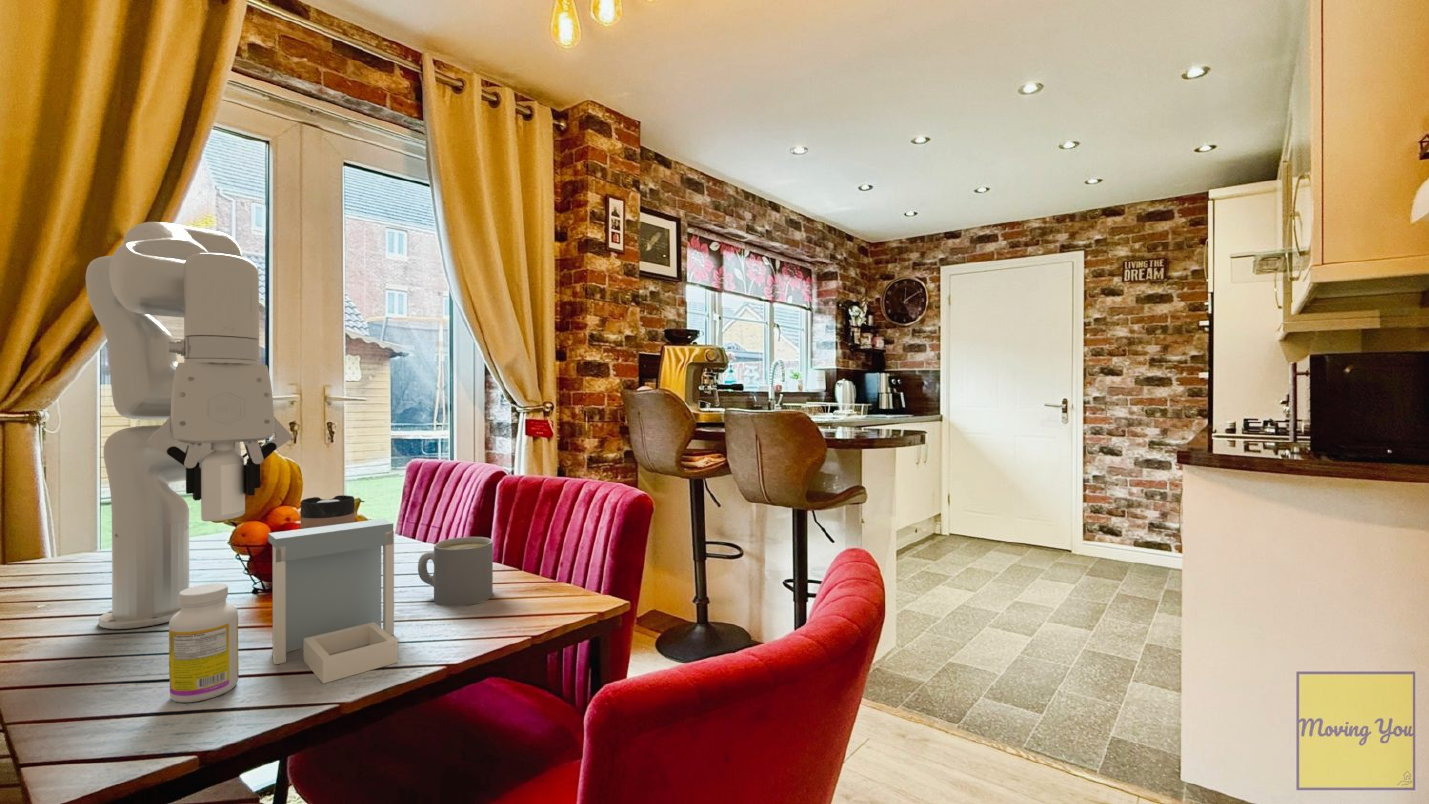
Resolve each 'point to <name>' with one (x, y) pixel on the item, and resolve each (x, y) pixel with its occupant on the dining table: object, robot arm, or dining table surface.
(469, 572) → the coffee mug
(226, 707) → the dining table surface
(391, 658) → the socket
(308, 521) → the travel mug
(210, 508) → the eye dropper bottle
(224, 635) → the supplement bottle
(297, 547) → the roller blind
